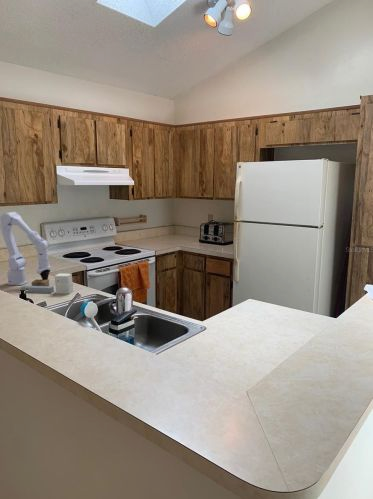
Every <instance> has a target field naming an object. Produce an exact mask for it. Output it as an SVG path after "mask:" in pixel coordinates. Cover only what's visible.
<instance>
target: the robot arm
mask: <svg viewBox="0 0 373 499" xmlns="http://www.w3.org/2000/svg"><path fill="white" fill-rule="evenodd" d="M13 226H17V227H19V229H21V230H22V231H23V232H24V233H25V234H26V236H27V239H28V240H29V241H30V242H31V243H32V244H33V245H34V248H35V250H36V251H37V259H38V260H37V261H38V268H37V269H36V274H39V276H40V277H41V280H49V275H50V272H51V268H52V264H50V262H49V250H48V248H49V247H50V244H49V242H48V240H47V239H44V238H43V237H42V236H41V235H40V234H39V233H38V231H35V230H32V229H31V227H29V225H28V224H27V223H26V222H25V221H24V220H23V218H22V216H21V215H20V214H19V213H18V212H17V211H11V212H4V213H2V214H1V216H0V231H1V234H2V237H3V239H4V242H5V245H6V248H7V252H8V255H9V257H8V259H7V261H8V268H9V269H8V271H7V285H8V286H9V285H10V286H24V285H25V284H27V283H28V282H29V280H26V272H25V269H26V268H25V266H26V265H27V261H26V258H24V256H23V254H22V253H20V251H19V249H18V245H17V243H16V240H15V239H16V238H15V236H14V234H13V230H12V228H13Z"/></svg>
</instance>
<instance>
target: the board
mask: <svg viewBox="0 0 373 499" xmlns="http://www.w3.org/2000/svg"><path fill="white" fill-rule="evenodd" d="M26 289H28V291H25V292H24V293H31V294H32V293H35V294H36V293H37V294H39V293H40V294H52V293H53V292H55V290H54V285H53V286H51V285H49V286H32V285H21V287H20V291H21V290H26Z"/></svg>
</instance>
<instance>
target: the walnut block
mask: <svg viewBox="0 0 373 499" xmlns="http://www.w3.org/2000/svg"><path fill="white" fill-rule="evenodd" d="M31 286H50V279H48V280H42V279H34V280H33V281H31Z"/></svg>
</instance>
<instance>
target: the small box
mask: <svg viewBox="0 0 373 499" xmlns="http://www.w3.org/2000/svg"><path fill="white" fill-rule="evenodd" d="M54 286H55V294H56V295H57V294H58V295H59V294H60V295H63V294H64V295H66V294H67V295H68V294H69V295H70V294H71V293H72V292H73V291H74V287H73V286H74V285H73V275H72V273H57V274H56V275H54Z"/></svg>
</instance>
